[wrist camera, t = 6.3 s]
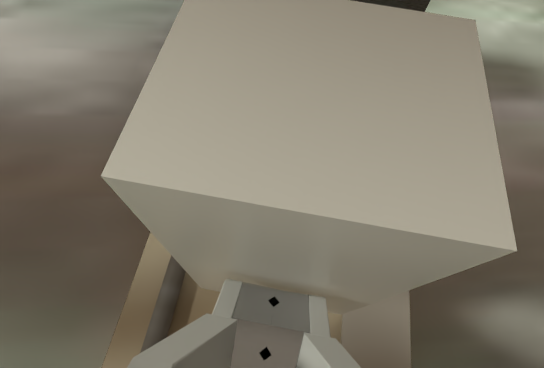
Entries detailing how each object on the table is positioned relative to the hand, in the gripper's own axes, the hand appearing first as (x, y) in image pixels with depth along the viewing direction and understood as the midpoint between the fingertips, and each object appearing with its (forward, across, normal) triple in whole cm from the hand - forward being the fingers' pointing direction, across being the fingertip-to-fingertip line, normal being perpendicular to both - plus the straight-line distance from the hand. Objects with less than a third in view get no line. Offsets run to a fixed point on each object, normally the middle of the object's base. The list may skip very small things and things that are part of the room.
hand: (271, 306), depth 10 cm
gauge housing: (+6, -1, 0) cm, 6 cm away
